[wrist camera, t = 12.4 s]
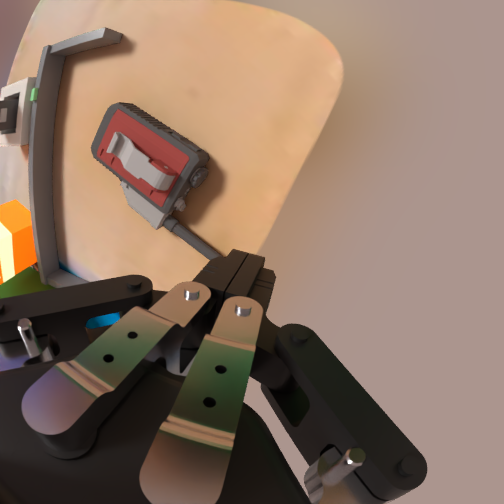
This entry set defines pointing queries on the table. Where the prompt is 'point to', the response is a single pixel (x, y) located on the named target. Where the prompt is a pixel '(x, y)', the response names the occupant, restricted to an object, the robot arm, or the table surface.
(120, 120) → the walkie-talkie
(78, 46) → the cradle
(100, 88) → the table surface
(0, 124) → the plug
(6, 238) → the orange juice
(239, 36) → the table surface
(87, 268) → the table surface
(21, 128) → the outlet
